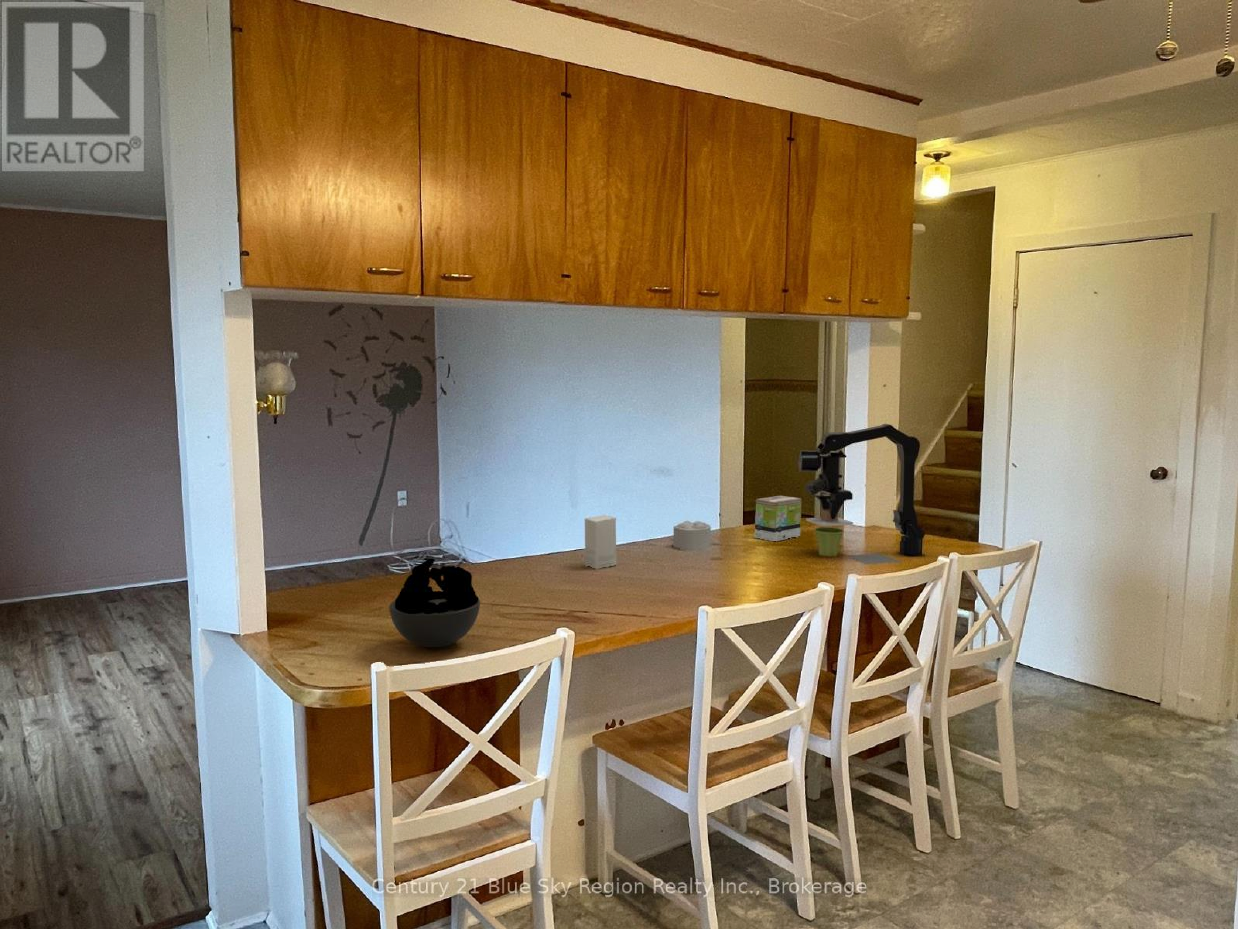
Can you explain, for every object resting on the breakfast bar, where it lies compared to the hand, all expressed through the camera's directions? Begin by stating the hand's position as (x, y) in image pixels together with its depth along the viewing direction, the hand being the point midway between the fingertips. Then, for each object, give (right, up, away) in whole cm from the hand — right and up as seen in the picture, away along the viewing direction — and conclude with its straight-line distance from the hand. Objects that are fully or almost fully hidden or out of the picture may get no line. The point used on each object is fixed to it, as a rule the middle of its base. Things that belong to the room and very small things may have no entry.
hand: (829, 517), depth 291 cm
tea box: (-11, -9, +32) cm, 35 cm away
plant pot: (0, -13, +1) cm, 13 cm away
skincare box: (-75, -15, -13) cm, 78 cm away
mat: (+13, -13, -5) cm, 19 cm away
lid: (0, -2, 0) cm, 2 cm away
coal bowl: (-111, -24, -92) cm, 146 cm away
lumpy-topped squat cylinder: (-44, -11, +17) cm, 48 cm away
